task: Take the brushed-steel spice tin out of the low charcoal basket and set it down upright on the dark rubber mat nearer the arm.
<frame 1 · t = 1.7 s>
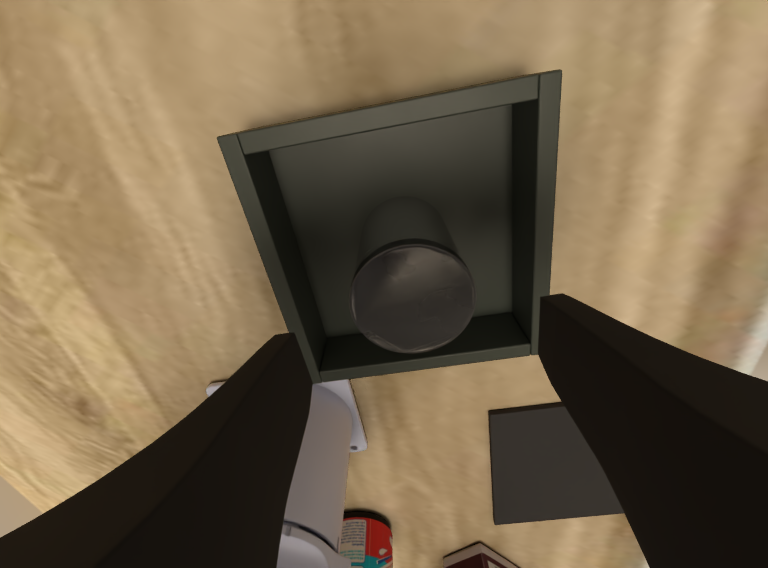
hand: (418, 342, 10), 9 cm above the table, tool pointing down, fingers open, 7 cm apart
mat: (581, 462, 27), on the table
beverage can: (359, 524, 32), on the table
supplement box: (485, 563, 35), on the table
spice tin: (403, 238, 18), resting on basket
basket: (403, 234, 18), on the table
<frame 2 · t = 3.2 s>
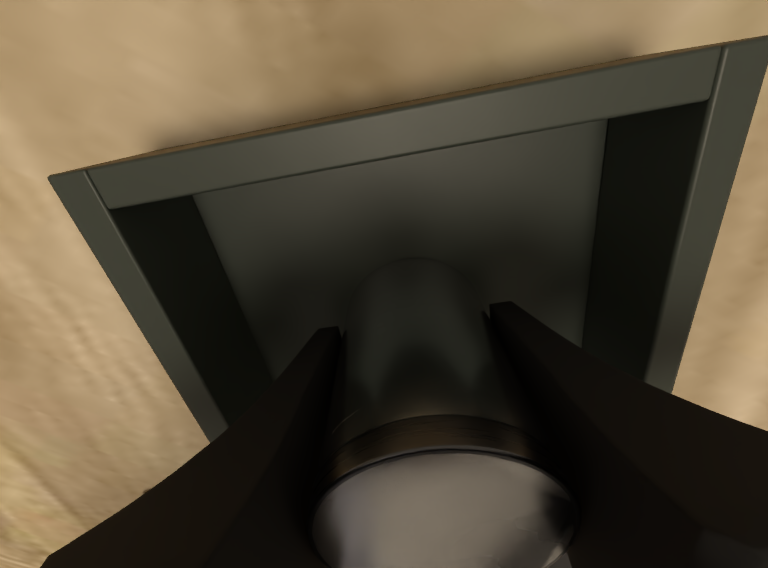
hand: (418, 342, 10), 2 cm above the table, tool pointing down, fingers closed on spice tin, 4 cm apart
spice tin: (413, 318, 11), point 1 cm above the table, touching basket, gripper
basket: (413, 309, 12), on the table
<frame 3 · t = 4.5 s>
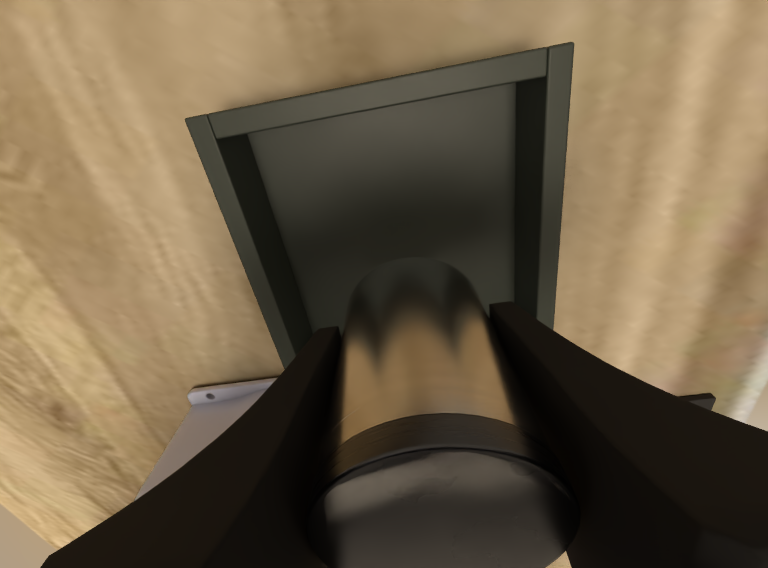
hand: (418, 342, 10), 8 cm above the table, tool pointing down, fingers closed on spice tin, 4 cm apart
mat: (585, 472, 26), on the table
spice tin: (413, 317, 11), point 7 cm above the table, touching gripper
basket: (397, 230, 17), on the table
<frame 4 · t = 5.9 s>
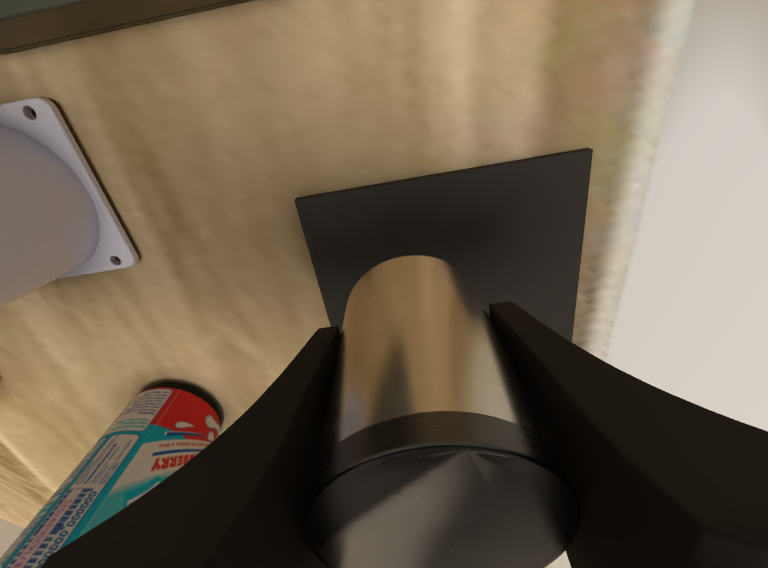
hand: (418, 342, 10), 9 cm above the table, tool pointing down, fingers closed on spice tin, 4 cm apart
mat: (448, 298, 20), on the table
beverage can: (182, 408, 24), on the table
spice tin: (412, 316, 11), point 8 cm above the table, touching gripper
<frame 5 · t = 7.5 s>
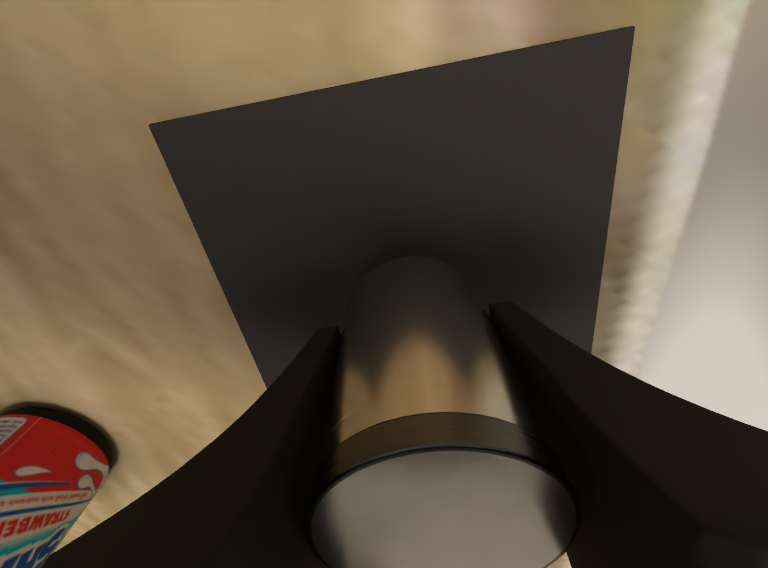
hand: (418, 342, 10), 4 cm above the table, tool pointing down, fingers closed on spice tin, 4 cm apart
mat: (410, 285, 13), on the table
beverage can: (61, 439, 18), on the table
spice tin: (413, 316, 11), point 2 cm above the table, touching gripper
when the fingers open (2 cm above the table, at t = 8.5 s): spice tin stays where it is, resting on mat.
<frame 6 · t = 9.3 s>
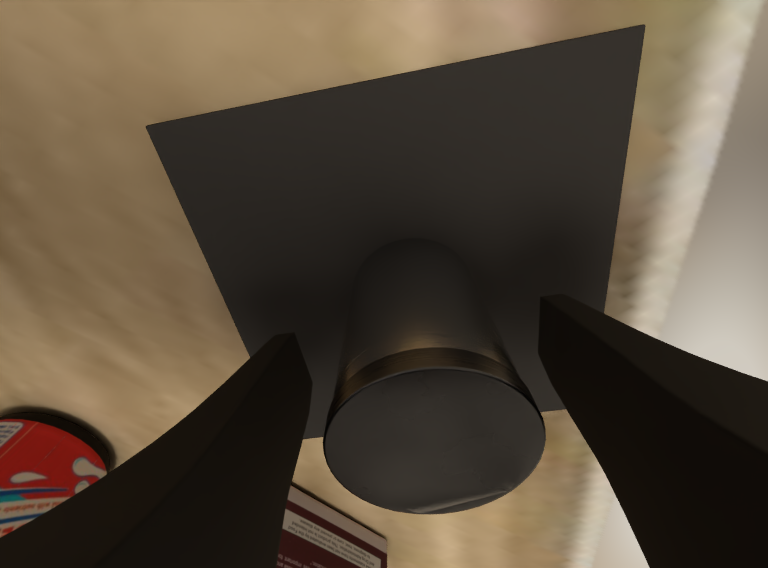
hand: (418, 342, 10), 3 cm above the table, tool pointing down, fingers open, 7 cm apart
mat: (412, 289, 13), on the table
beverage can: (58, 444, 18), on the table
supplement box: (314, 522, 21), on the table
spice tin: (412, 293, 13), resting on mat
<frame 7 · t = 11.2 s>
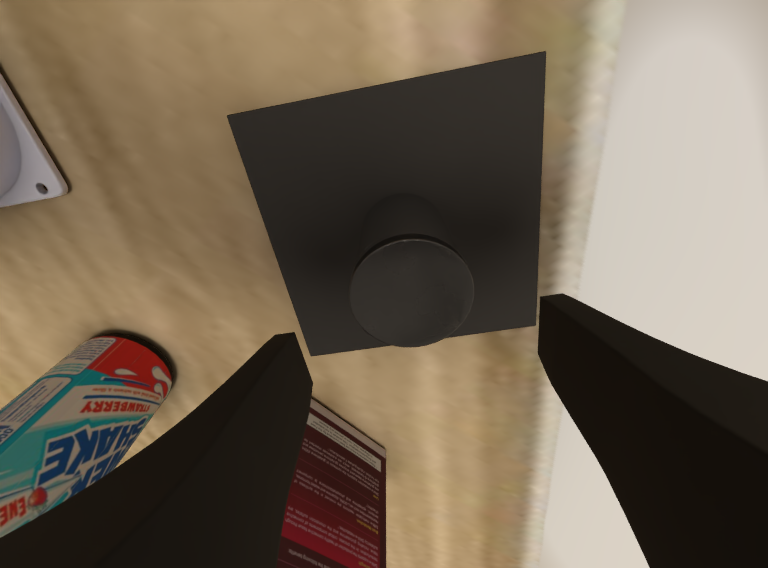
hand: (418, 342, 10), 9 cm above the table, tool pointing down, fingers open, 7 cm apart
mat: (403, 233, 19), on the table
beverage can: (133, 363, 23), on the table
supplement box: (327, 434, 26), on the table
spice tin: (403, 235, 18), resting on mat
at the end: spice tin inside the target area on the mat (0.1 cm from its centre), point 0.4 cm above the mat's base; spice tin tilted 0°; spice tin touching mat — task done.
